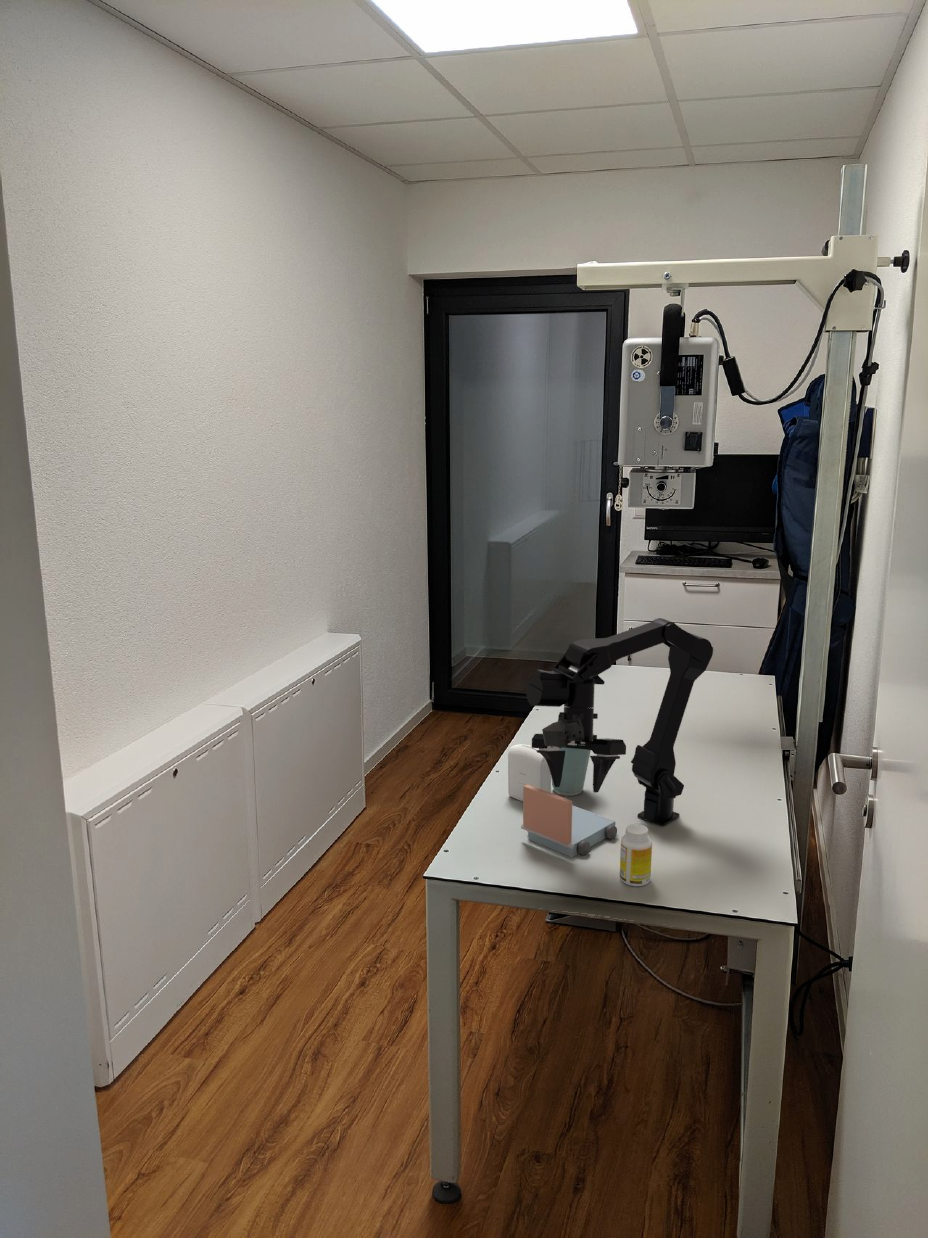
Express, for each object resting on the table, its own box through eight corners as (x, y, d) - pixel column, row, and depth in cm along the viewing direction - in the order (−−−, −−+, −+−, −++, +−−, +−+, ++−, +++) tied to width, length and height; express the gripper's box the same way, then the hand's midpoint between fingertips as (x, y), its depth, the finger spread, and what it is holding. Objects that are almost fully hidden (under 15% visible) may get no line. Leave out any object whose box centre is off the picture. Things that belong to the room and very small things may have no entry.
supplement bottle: (656, 879, 174) (658, 828, 171) (639, 891, 170) (641, 838, 167) (630, 869, 178) (632, 818, 175) (613, 880, 174) (615, 829, 171)
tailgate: (524, 827, 189) (524, 783, 187) (574, 848, 181) (575, 802, 178) (520, 829, 188) (520, 785, 186) (570, 850, 180) (571, 804, 178)
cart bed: (566, 814, 200) (566, 802, 199) (620, 834, 191) (620, 822, 190) (523, 836, 190) (523, 824, 190) (577, 859, 181) (578, 847, 181)
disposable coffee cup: (534, 791, 211) (535, 727, 208) (562, 776, 219) (564, 714, 216) (574, 804, 205) (576, 738, 201) (602, 788, 212) (604, 725, 209)
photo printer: (504, 796, 209) (505, 743, 206) (518, 790, 212) (518, 738, 209) (540, 810, 202) (541, 756, 199) (553, 804, 205) (554, 750, 202)
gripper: (514, 704, 183) (511, 786, 182) (593, 709, 170) (590, 797, 169) (550, 705, 191) (548, 784, 190) (628, 710, 178) (626, 794, 177)
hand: (576, 789), depth 182 cm, fingers open, 9 cm apart
